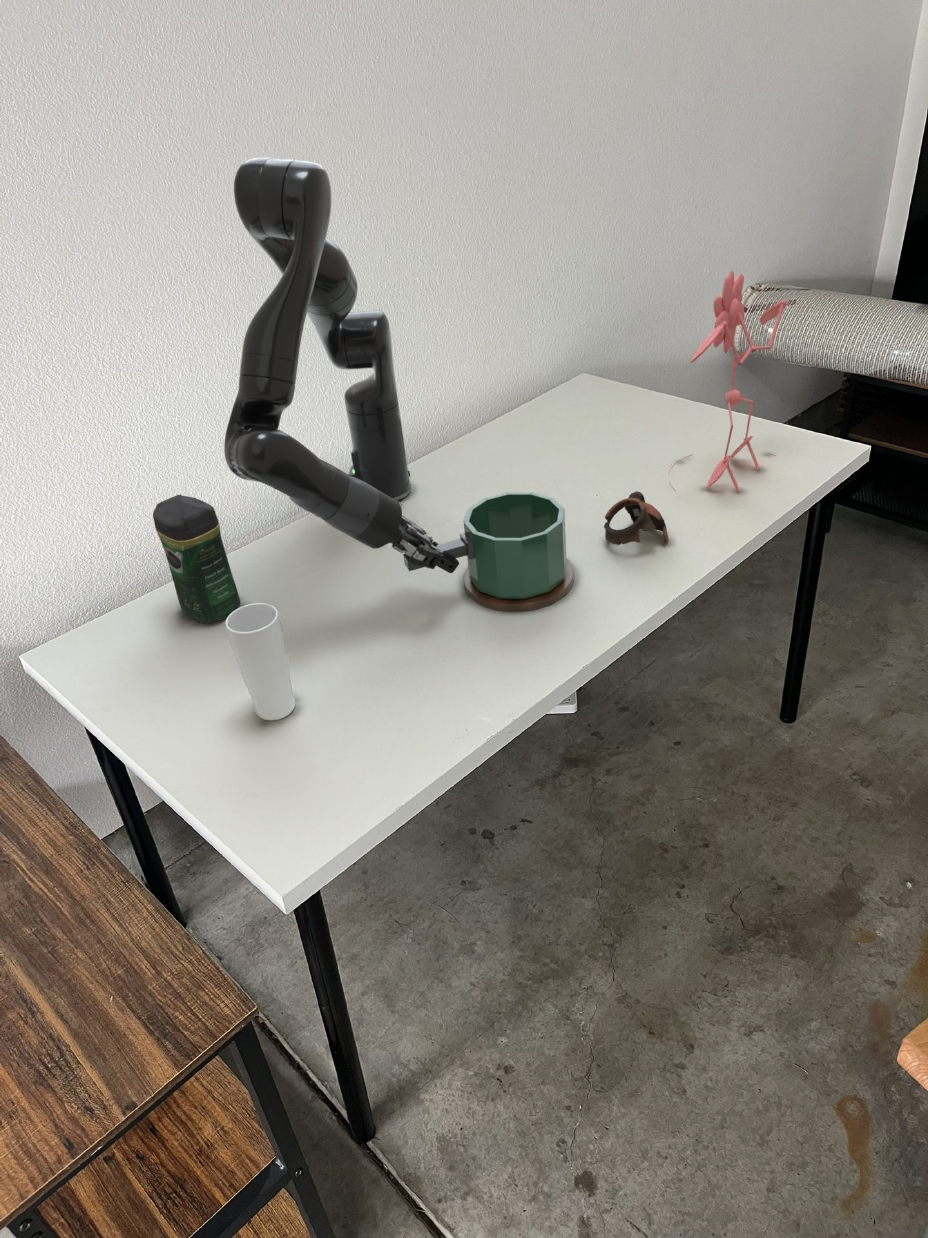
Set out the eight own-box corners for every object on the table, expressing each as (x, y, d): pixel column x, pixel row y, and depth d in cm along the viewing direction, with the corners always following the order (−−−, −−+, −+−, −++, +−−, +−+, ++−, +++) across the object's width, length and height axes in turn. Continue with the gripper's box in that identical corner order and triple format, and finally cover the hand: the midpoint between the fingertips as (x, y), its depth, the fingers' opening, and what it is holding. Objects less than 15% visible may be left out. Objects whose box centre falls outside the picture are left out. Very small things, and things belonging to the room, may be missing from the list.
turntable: (460, 614, 142) (460, 607, 141) (467, 554, 156) (466, 548, 155) (576, 609, 140) (575, 602, 139) (572, 549, 154) (572, 542, 153)
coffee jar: (250, 607, 149) (222, 501, 138) (207, 631, 144) (174, 523, 134) (216, 587, 155) (186, 484, 144) (174, 609, 150) (140, 505, 140)
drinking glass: (253, 696, 130) (227, 605, 122) (302, 690, 130) (280, 599, 122) (248, 729, 125) (221, 636, 116) (300, 722, 125) (276, 629, 116)
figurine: (781, 451, 175) (802, 254, 155) (723, 513, 159) (739, 301, 139) (703, 437, 183) (713, 247, 163) (640, 494, 167) (643, 291, 147)
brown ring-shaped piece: (675, 555, 150) (653, 523, 145) (621, 576, 154) (597, 545, 149) (668, 503, 158) (647, 470, 153) (616, 524, 162) (594, 493, 157)
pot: (541, 539, 154) (538, 483, 149) (582, 582, 143) (580, 524, 137) (397, 579, 148) (388, 523, 143) (427, 627, 137) (419, 568, 131)
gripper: (390, 510, 125) (484, 564, 135) (361, 469, 136) (450, 522, 146) (358, 555, 127) (453, 605, 137) (332, 511, 138) (422, 561, 148)
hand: (451, 562), depth 142 cm, fingers closed on pot, 2 cm apart
